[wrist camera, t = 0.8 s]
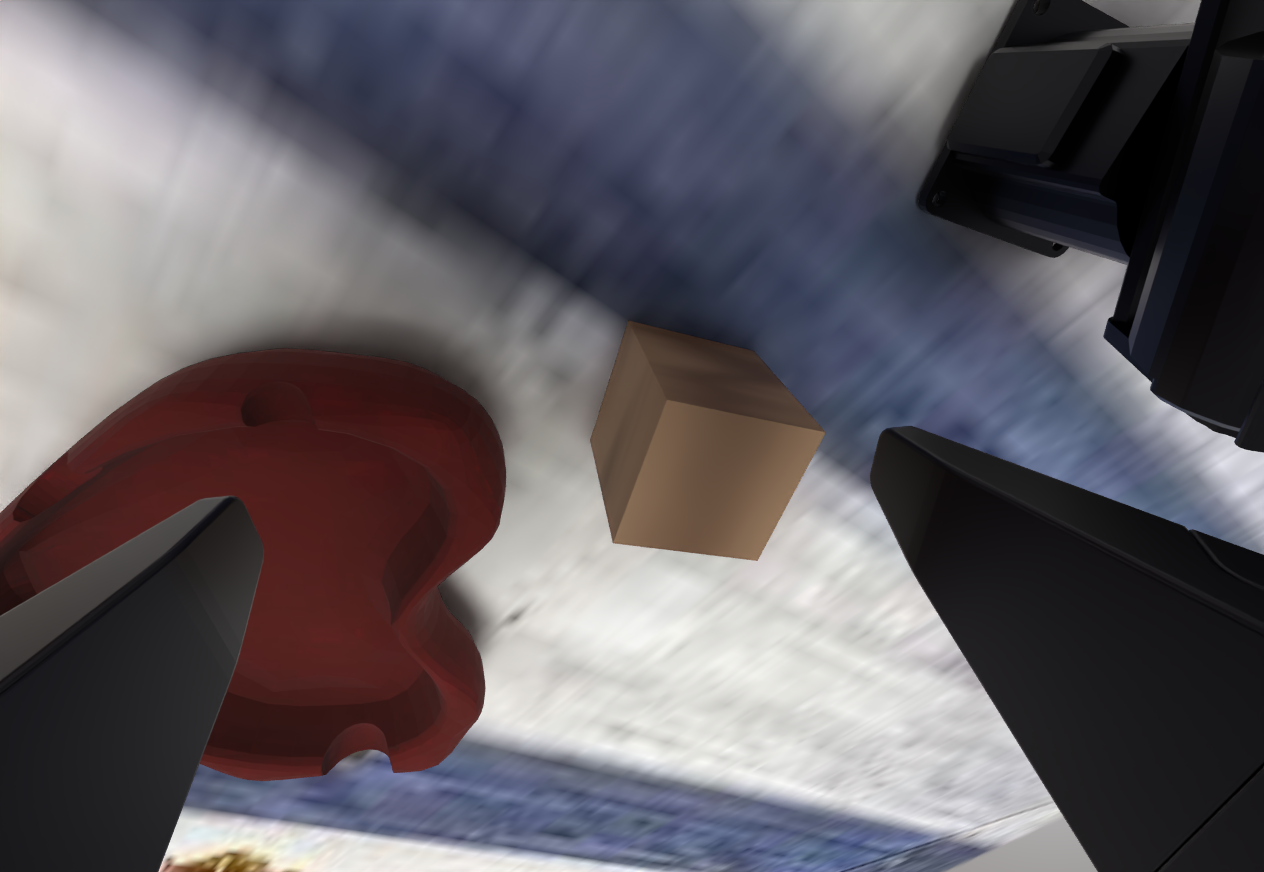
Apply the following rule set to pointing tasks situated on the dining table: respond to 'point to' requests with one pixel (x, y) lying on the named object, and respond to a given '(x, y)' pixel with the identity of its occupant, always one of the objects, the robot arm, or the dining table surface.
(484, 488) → the ashtray
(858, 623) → the dining table surface
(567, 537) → the dining table surface
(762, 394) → the walnut block
